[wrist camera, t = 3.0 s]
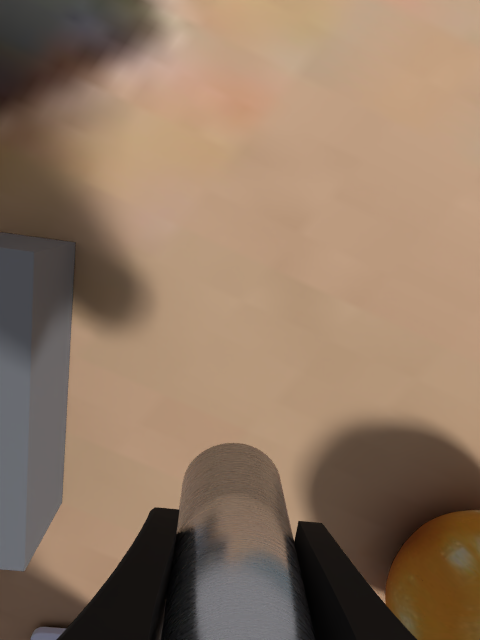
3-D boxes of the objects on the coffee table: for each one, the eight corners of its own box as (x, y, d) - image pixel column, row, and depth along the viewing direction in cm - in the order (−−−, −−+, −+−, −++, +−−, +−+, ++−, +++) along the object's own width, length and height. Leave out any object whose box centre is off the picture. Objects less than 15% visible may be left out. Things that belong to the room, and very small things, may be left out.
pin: (272, 533, 14) (321, 841, 7) (177, 524, 14) (134, 833, 7) (287, 448, 13) (359, 700, 6) (188, 437, 13) (153, 686, 6)
